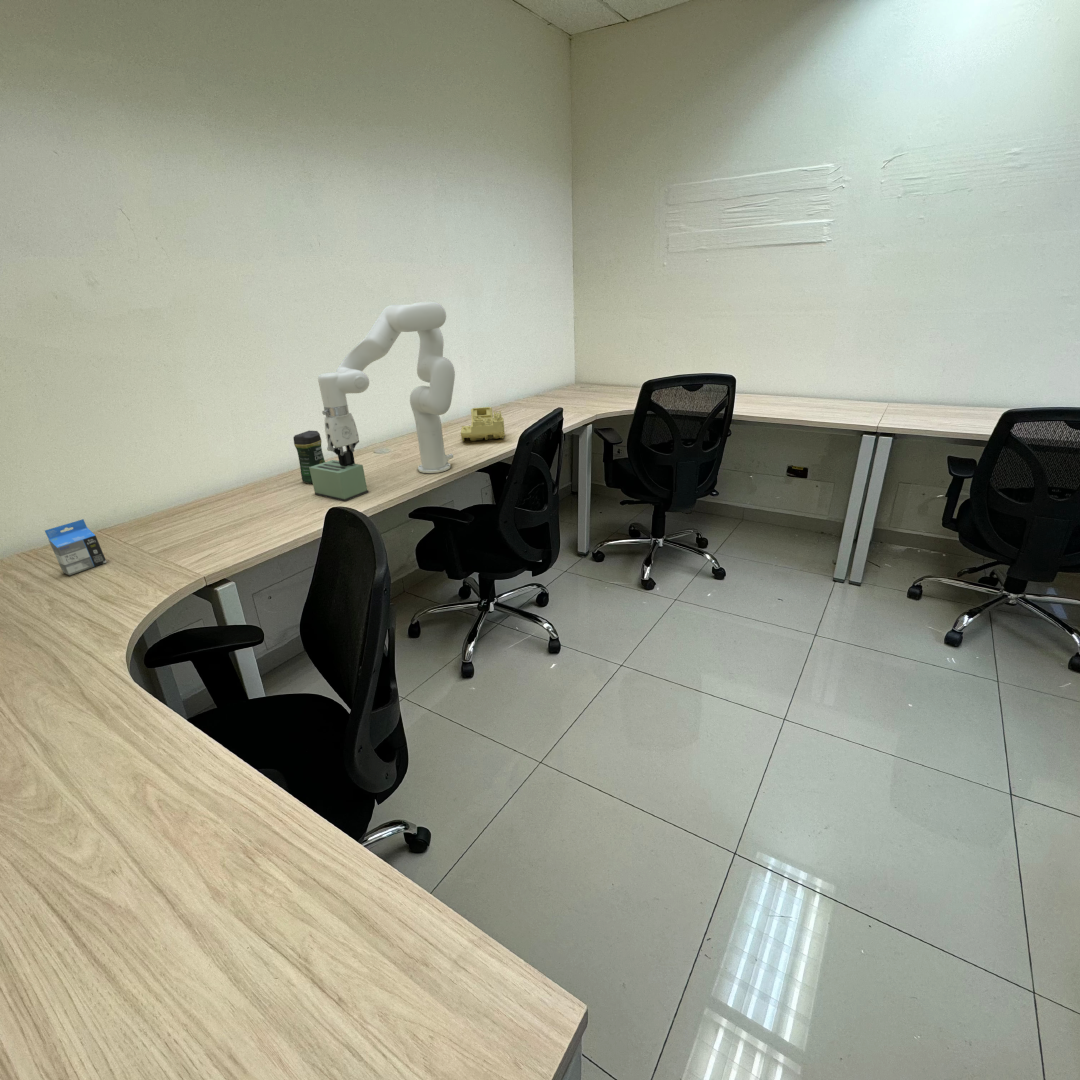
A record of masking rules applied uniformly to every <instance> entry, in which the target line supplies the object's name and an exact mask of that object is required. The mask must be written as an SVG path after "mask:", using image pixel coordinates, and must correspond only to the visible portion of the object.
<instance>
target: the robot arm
mask: <svg viewBox="0 0 1080 1080" xmlns="http://www.w3.org/2000/svg"><path fill="white" fill-rule="evenodd" d="M446 320H447V312H446V309H445V308H444V307H443V305H442V304H441V303H440V302H436V301H418V302H414V303H411V304H390V305H387V306H385V307H384V308H383V309H382V311H381V313H379V315H378V317H377V318H376V320H375V322H374V323H373V325H372V326H371V328H370V329H369V330H368V332H367V334H366V335H365V336H364V338H363V339H362V340H361V341H359V342H358V343H357V344H356V346H354V347H353V348H352V349H351V350H350V351H349V352H348V353H347V354H346V355H345V357H344V359H343V360H342V361H341V363H340V364H339V366H338V367H337V368H336V370H335V371H334V372H333V371H331V372H323V373H320V374H319V375H318V376H317V379H318V380H317V381H318V386H319V391H320V396H321V401H322V406H323V410H322V411H321V413H322V415H323V416H325V417H324V432H325V439H326V443H327V447H326V448H327V449H326V450H327V451H328V452H333V453H334V454H335V455H336V456H337V458H338V459H337V460H338V461H339V463H340V465H341V466H347V460H346V455H344V447H345V451H349V452H350V455H351V460H352V463H350V464H356V463H355V457H354V456H355V455H354V452H355V448H356V446H357V445H358V444H359V443H360V438H359V432H358V429H357V424H356V421H355V419H354V416H353V414H352V413H351V412H350V411H349V404H348V400H347V395H348V394H361V393H364V392H366V391H367V390H368V388H369V386H370V378H369V377H368V376H369V375H367V374H366V373H365V372H364V370H365V369H366V368H367V367H368V366H369V365H371V364H372V363H374V362H376V361H378V360H380V359H382V358H384V357H386V356H387V354H388V353H389V352H390V350H391V348H392V346H394V344H395V342H396V340H397V339H398V338H399V336H400V335H401V334H402V333H412V332H417V335H418V338H419V349H418V357H417V364H416V365H417V366H416V375H417V377H418V378H419V379H420V380H421V381H422V382H425V383H429V385H419V386H416V387H414V389H412V391H411V392H410V395H409V403H410V408H411V411H412V414H413V418H414V422H415V429H416V435H417V442H418V443H417V444H418V450H419V456H420V463H421V464H420V465H418V466H417V471H418V472H420V473H423V474H438V473H443V472H446V471H448V470H450V469H451V467H452V466H451V463H449V460H453V458H454V453H449V454H446V451H445V443H444V442H445V441H444V435H443V426H442V420H441V417H440V416H442V415H445V414H446V413H447V412H448V411H449V410H450V407H451V406H452V405H451V404H452V399H453V392H454V386H455V380H456V379H455V378H456V377H455V376H456V371H455V367H454V364H453V363H452V361H451V360H450V359H449V358H447V357H444V346H445V345H444V344H445V342H444V341H445V340H444V336H443V332H442V330H441V328H442V326H443V325H444V324H445V323H446ZM346 394H347V395H346Z"/></svg>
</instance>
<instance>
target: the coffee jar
mask: <svg viewBox="0 0 1080 1080" xmlns="http://www.w3.org/2000/svg"><path fill="white" fill-rule="evenodd" d="M293 445H294V448H295V449H296V452H297V456H298V463H299V469H300V475H301V476H300V477H301V481H302V483H305V484H313V482H312V478H311V474H310V469H309V467H312V466H315V465H318V464H321V463H324V462H326V461H325V456H324V453H323V448H322V436H321V434H320V432H319V431H318V430H307V431H303V432H300V433H298V434H294V436H293Z"/></svg>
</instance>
